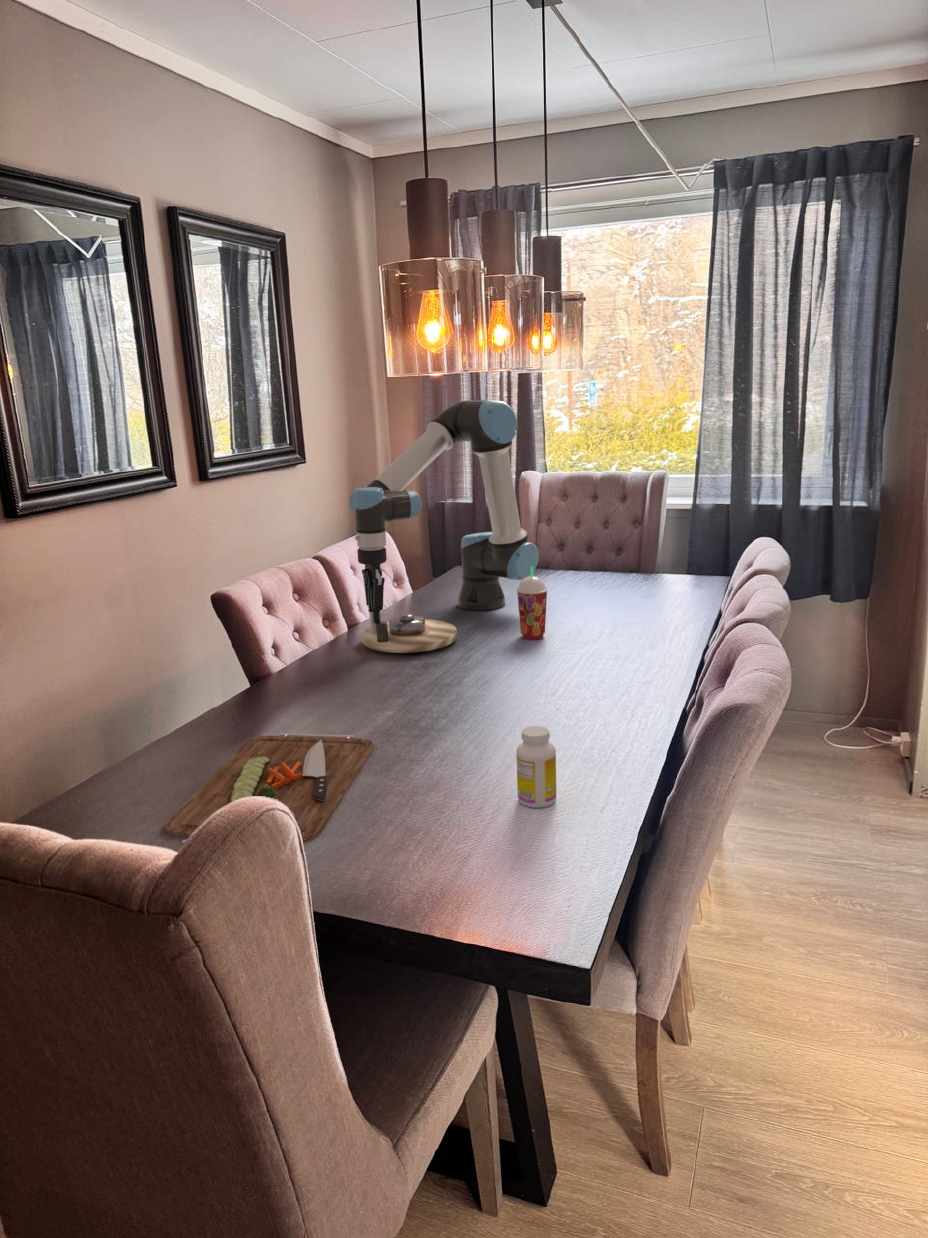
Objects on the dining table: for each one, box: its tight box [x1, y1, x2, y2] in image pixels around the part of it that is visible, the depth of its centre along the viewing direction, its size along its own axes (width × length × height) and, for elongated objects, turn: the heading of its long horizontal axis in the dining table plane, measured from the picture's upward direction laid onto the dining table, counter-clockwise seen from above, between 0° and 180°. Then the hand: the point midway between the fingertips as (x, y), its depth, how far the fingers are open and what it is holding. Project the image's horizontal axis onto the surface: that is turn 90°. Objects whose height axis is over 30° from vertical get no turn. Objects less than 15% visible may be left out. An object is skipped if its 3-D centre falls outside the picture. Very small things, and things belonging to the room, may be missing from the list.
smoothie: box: [516, 566, 548, 641], centre depth 245 cm, size 8×8×20 cm
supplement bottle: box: [515, 725, 557, 809], centre depth 151 cm, size 7×7×13 cm
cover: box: [388, 612, 425, 636], centre depth 246 cm, size 10×10×4 cm
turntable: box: [361, 618, 458, 654], centre depth 245 cm, size 26×26×7 cm
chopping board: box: [164, 732, 375, 845], centre depth 163 cm, size 45×27×3 cm, turn 171°
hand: (376, 633), depth 239 cm, fingers closed
